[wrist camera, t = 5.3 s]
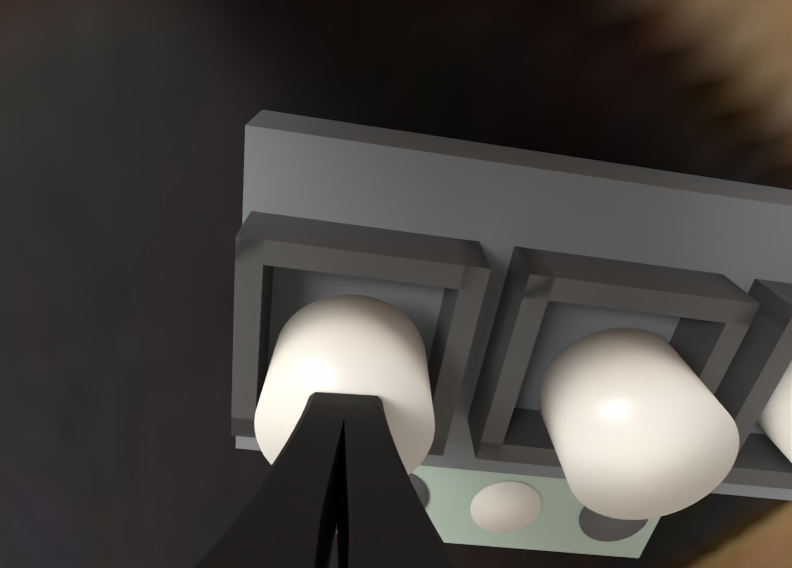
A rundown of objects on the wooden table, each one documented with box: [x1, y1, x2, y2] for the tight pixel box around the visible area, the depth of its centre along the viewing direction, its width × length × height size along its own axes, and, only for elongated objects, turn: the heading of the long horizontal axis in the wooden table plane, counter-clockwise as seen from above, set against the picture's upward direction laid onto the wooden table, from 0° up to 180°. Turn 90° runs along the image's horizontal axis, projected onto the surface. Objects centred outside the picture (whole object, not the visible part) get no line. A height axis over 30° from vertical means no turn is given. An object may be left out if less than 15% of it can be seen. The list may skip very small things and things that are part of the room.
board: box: [231, 110, 792, 501], centre depth 15 cm, size 19×10×4 cm, turn 81°
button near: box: [254, 294, 435, 475], centre depth 12 cm, size 4×4×2 cm
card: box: [408, 465, 661, 558], centre depth 20 cm, size 12×4×1 cm, turn 81°
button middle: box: [538, 328, 739, 520], centre depth 13 cm, size 4×4×2 cm
